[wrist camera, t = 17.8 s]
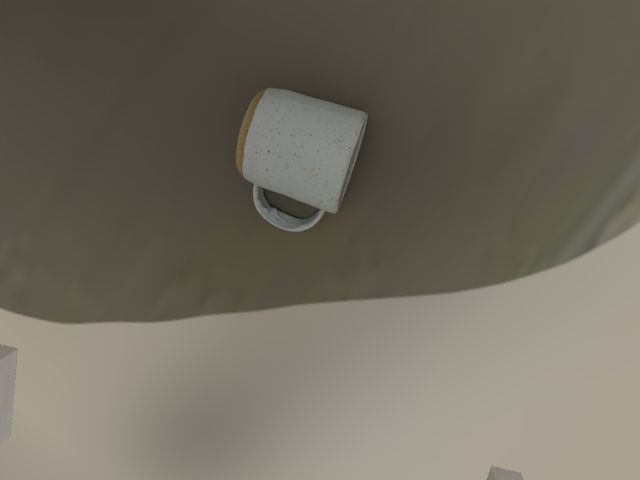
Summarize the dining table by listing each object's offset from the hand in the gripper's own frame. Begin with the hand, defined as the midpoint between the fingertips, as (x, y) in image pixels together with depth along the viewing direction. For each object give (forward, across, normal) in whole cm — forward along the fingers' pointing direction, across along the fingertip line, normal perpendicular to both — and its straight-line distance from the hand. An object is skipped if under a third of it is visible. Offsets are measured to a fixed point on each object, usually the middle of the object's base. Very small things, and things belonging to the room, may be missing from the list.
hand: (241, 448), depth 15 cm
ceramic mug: (+31, -3, +4) cm, 31 cm away
